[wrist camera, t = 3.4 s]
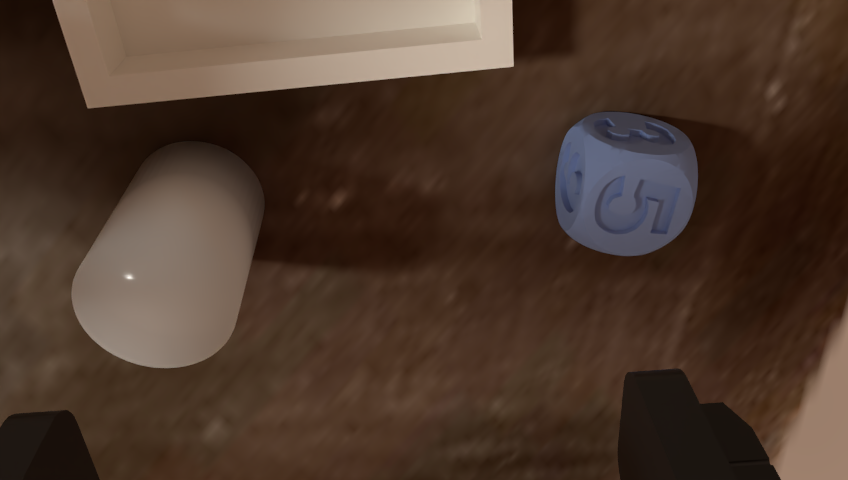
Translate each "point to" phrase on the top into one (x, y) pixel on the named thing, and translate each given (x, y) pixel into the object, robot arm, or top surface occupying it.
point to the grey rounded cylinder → (172, 258)
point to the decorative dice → (625, 183)
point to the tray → (273, 44)
